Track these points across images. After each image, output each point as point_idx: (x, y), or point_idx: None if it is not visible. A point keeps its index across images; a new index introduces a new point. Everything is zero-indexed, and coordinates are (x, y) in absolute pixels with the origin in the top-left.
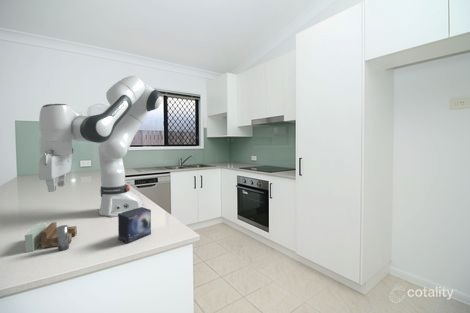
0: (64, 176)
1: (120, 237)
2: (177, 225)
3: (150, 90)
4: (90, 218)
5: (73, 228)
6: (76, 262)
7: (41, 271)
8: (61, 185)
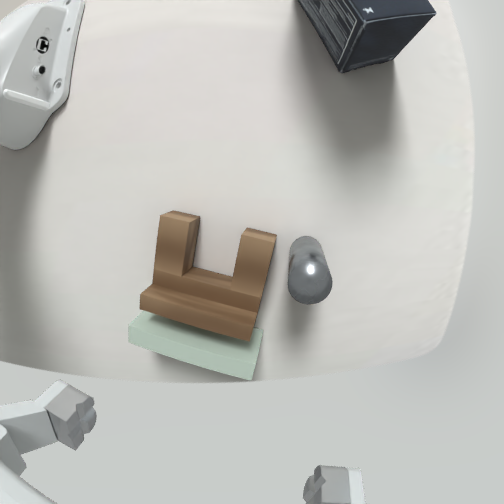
0: (7, 434)
1: (359, 64)
2: None
3: None
4: (45, 171)
5: (186, 226)
6: (436, 218)
7: (424, 298)
8: (89, 409)
